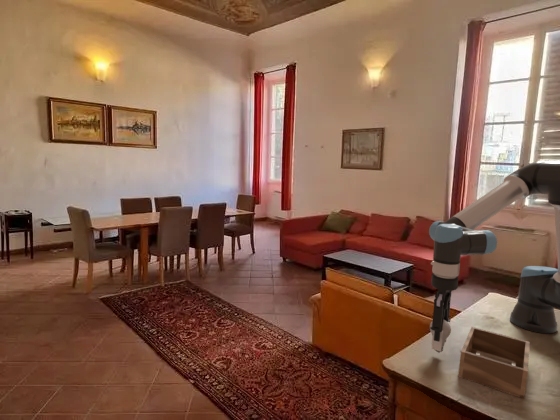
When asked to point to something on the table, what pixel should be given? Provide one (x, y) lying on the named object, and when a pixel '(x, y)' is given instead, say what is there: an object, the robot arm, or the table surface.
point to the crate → (495, 361)
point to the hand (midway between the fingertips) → (438, 345)
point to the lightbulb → (446, 333)
